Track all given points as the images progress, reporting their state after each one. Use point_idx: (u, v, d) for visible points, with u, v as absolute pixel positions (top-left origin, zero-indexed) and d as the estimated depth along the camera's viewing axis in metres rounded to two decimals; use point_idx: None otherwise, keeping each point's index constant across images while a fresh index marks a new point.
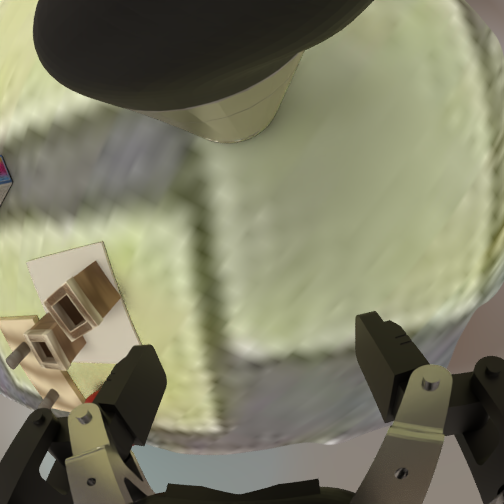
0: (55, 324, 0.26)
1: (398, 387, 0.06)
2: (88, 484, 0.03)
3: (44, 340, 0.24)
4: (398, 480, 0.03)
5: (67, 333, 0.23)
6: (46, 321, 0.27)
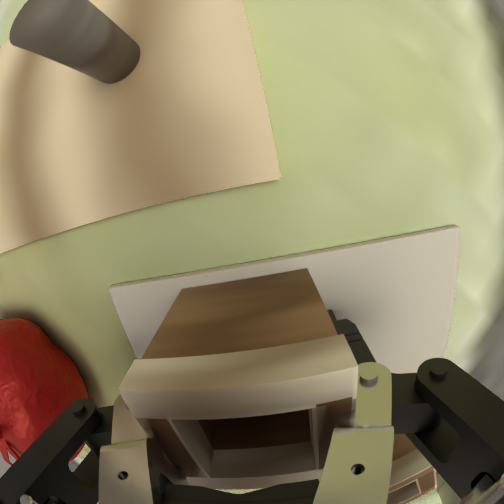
0: None
1: None
2: (118, 477, 0.04)
3: (322, 468, 0.06)
4: (356, 476, 0.03)
5: None
6: None
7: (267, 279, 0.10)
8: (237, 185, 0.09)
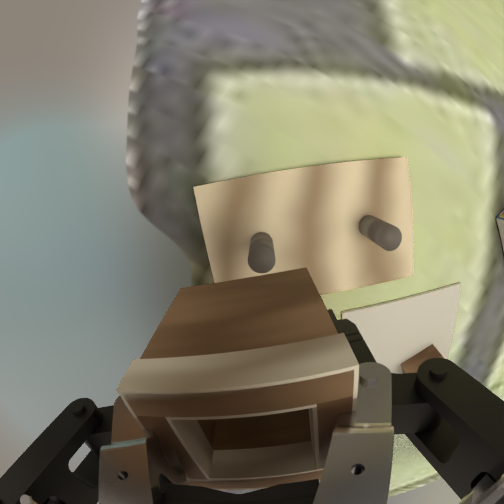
0: None
1: None
2: (119, 477, 0.04)
3: (323, 468, 0.06)
4: (356, 476, 0.03)
5: None
6: None
7: (267, 278, 0.10)
8: (401, 277, 0.25)
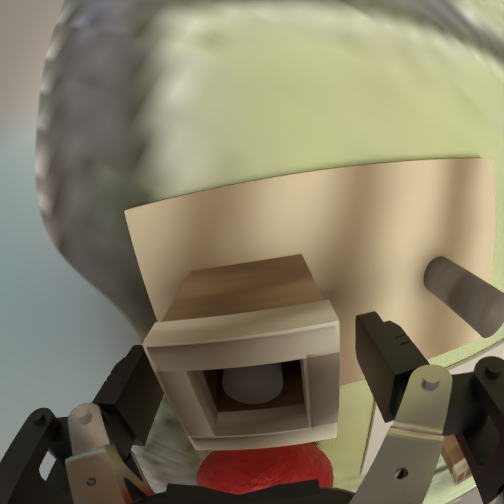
0: None
1: (398, 387, 0.06)
2: (88, 484, 0.03)
3: (314, 426, 0.08)
4: (398, 480, 0.03)
5: (466, 469, 0.12)
6: None
7: (267, 262, 0.12)
8: None
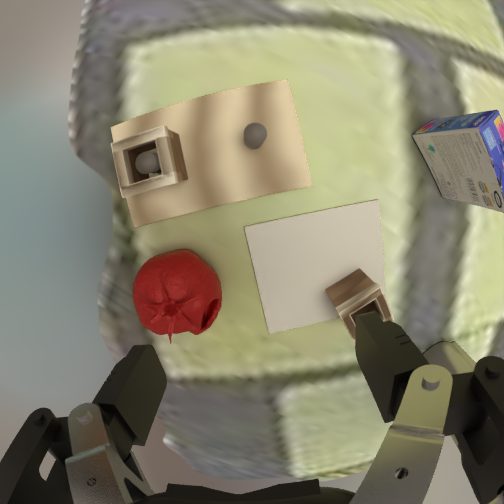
0: (180, 177, 0.25)
1: (398, 387, 0.06)
2: (88, 484, 0.03)
3: (164, 174, 0.22)
4: (398, 480, 0.03)
5: (348, 310, 0.27)
6: (176, 151, 0.25)
7: None
8: None
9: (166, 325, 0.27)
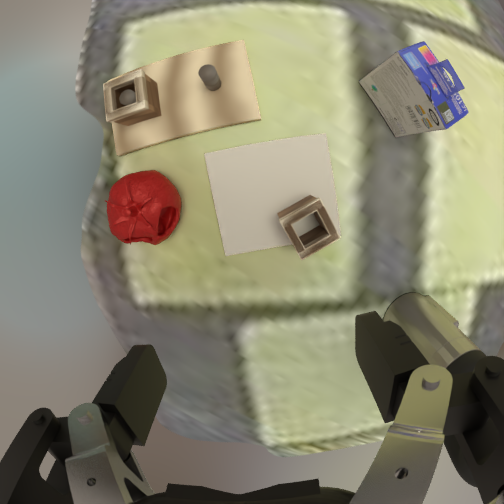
0: (151, 108, 0.29)
1: (398, 387, 0.06)
2: (88, 484, 0.03)
3: (138, 101, 0.26)
4: (398, 480, 0.03)
5: (289, 219, 0.30)
6: (151, 91, 0.29)
7: None
8: (249, 120, 0.32)
9: (128, 227, 0.31)
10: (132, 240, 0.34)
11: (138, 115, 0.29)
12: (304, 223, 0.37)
